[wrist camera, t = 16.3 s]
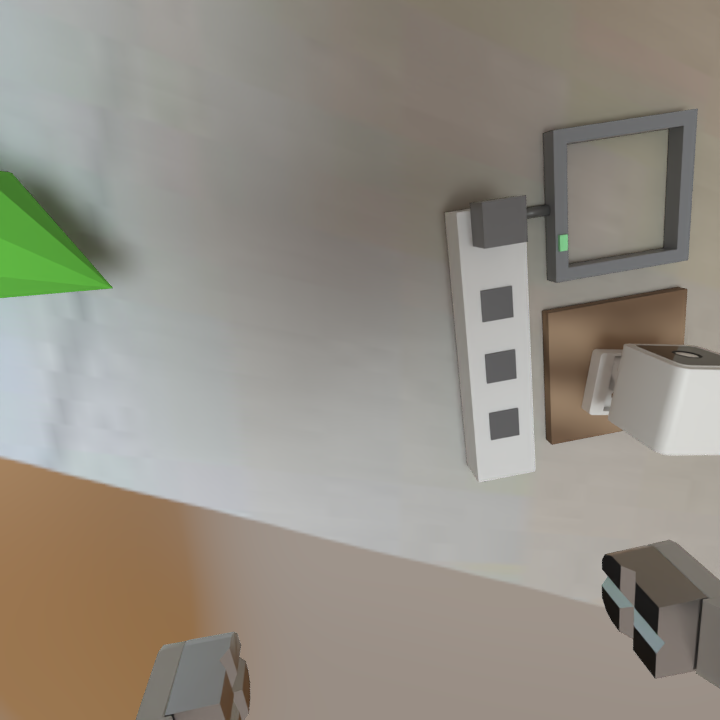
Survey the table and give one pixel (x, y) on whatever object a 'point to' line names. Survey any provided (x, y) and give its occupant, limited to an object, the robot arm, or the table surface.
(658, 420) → the security camera
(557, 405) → the walnut pad
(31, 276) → the green faceted elongated piece
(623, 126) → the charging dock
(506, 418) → the power strip
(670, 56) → the table surface
